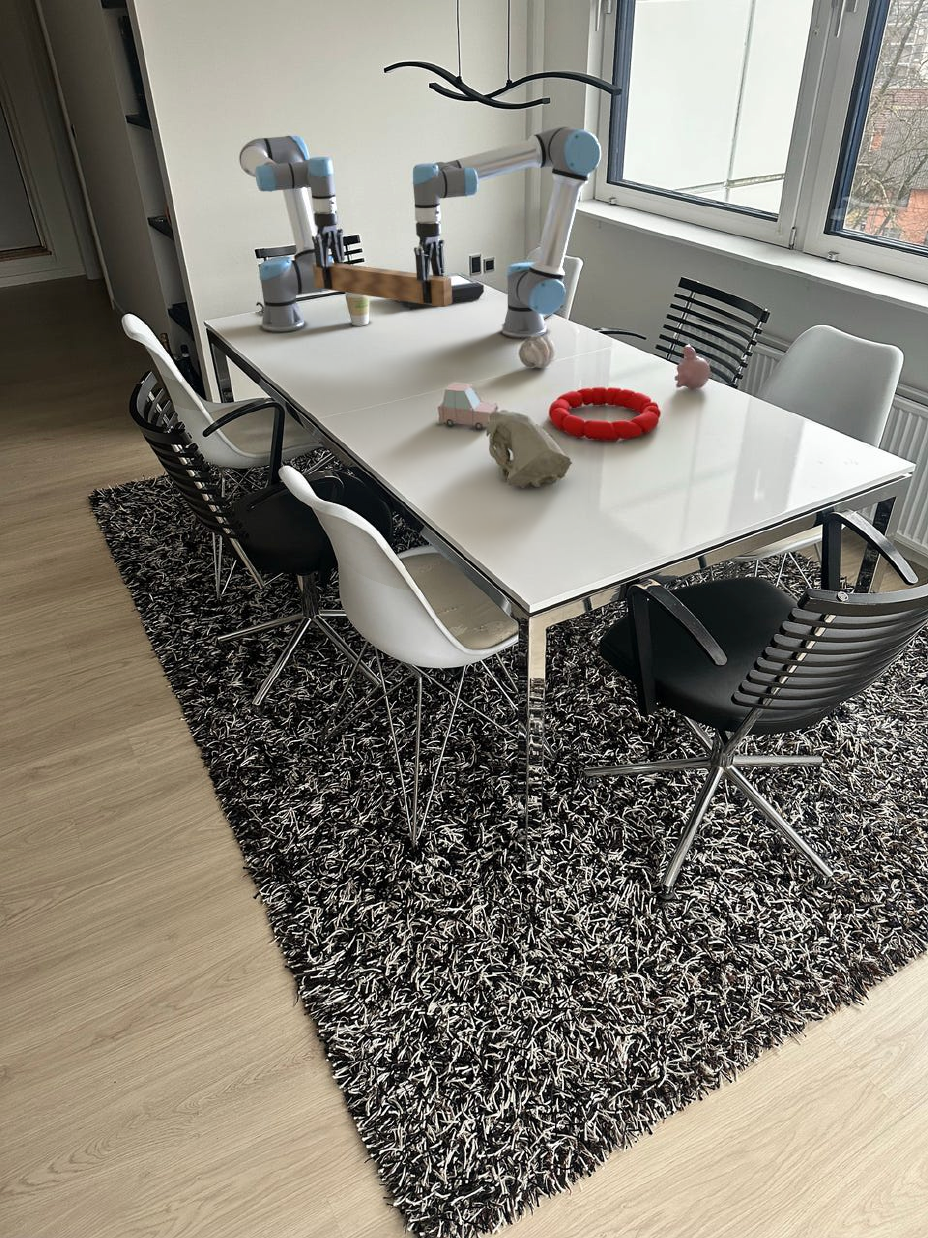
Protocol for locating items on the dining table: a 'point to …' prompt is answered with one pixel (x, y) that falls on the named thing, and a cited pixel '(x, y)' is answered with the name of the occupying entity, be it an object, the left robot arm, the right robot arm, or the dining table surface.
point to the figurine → (692, 370)
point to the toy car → (465, 406)
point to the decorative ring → (604, 428)
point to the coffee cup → (358, 308)
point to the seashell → (536, 351)
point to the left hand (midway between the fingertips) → (333, 286)
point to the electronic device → (456, 291)
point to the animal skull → (525, 450)
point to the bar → (384, 283)
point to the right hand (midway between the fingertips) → (432, 300)
